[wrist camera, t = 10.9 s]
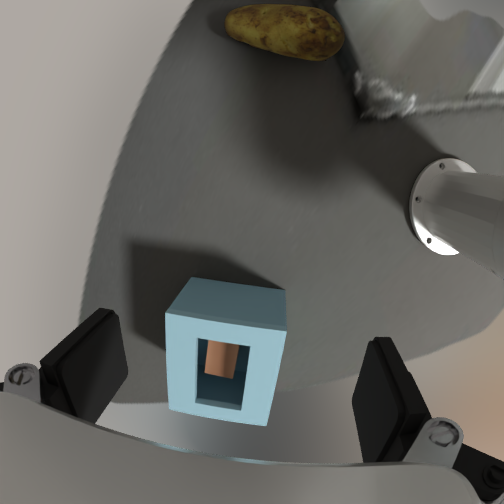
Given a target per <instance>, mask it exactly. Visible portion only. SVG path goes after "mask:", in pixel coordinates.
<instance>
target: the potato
mask: <svg viewBox="0 0 504 504" xmlns="http://www.w3.org/2000/svg"><path fill="white" fill-rule="evenodd" d="M224 26H225V30H226V33H227V34H228V35H229V36H231V37H232V38H234V39H236V40H238V41H240V42H241V41H242V42H246V43H248V44H249V45H250V46H252V47H256V48H260V49H264V50H267V51H271V52H274V53H277V54H281V55H285V56H289V57H296V58H301V59H305V60H313V61H324V60H325V61H326V59H328V58H330V57H331V56H333V55H334V54H336V53H337V52H338V51H339V50H340V48H341V47H342V45H343V43H344V40H345V34H344V30H343V28H342V27H341V25H340V24H339V23H338V21H337V20H336V18H334V17H333V16H332V15H330V14H329V13H327V12H325V11H323V10H321V9H318V8H313V7H305V6H299V5H286V4H254V5H247V6H243V7H240V8H236V9H234V10H232V11H230V12H229V13H228V14H227V16H226V18H225V22H224Z"/></svg>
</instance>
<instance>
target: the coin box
mask: <svg viewBox="0 0 504 504" xmlns="http://www.w3.org/2000/svg"><path fill="white" fill-rule="evenodd" d="M165 330H166V362H167V383H168V399H169V409H170V410H174V411H179V412H184V413H188V414H193V415H198V416H203V417H208V418H213V419H220V420H226V421H232V422H238V423H246V424H253V425H262V426H266V425H267V421H268V417H269V412H270V408H271V404H272V399H273V395H274V390H275V386H276V381H277V377H278V372H279V367H280V362H281V357H282V353H283V348H284V343H285V338H286V333H287V325H286V300H285V290H281V289H273V288H266V287H258V286H251V285H244V284H237V283H230V282H223V281H216V280H209V279H202V278H196V277H191V278H190V280H189V281H188V282H187V284H186V285H185V286H184V288H183V289H182V290H181V292H180V293H179V295H178V296H177V297H176V299H175V300H174V301H173V303H172V304H171V306H170V307H169V308H168V310H167V311H166V312H165ZM209 340H213V341H219V342H225V343H232V344H238V345H240V347H239V352H238V357H237V362H236V366H235V371H234V376H233V379H231V378H226V377H221V376H217V375H212V374H208V373H205V365H206V357H207V349H208V342H209Z"/></svg>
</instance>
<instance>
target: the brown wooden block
mask: <svg viewBox="0 0 504 504" xmlns="http://www.w3.org/2000/svg"><path fill="white" fill-rule="evenodd" d="M239 347H240V345H238V344H232V343H225V342H219V341H213V340H209V342H208V349H207V357H206V365H205V373H208V374H212V375H217V376H221V377H226V378H231V379H233V376H234V371H235V366H236V362H237V357H238V352H239Z"/></svg>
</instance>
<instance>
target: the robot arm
mask: <svg viewBox="0 0 504 504" xmlns="http://www.w3.org/2000/svg"><path fill="white" fill-rule="evenodd" d="M439 165H440V167H439ZM416 197H417V200H415V198H416ZM409 212H410V220H411V223H412V227H413V229H414V232H415V234H416V236H417V237H418V239H419V240H420V241H421V243H423V244H424V245H425V246H426V247H427V248H429V249H430V250H432V251H433V252H436V253H438V254H442V255H454V254H457V253H461V254H462V255H464V256H466V257H467V258H469V259H471V260H473V261H474V262H476V263H477V264H479V265H481V266H482V267H484V268H486V269H487V270H489V271H490V272H492V273H494V274H495V275H497V276H498V277H500V278H501V279H503V280H504V177H503V176H496V175H488V174H480V173H477V172H476V171H475V170H474V169H473V168H472V167H471V166H470V165H469V164H467V163H466V162H464V161H461V160H459V159H454V158H444V159H438V160H436V161H434V162H432V163H430V164H429V165H428V166H426V167H425V168H424V169H423V170H422V172H421V173H420V174H419V176H418V177H417V179H416V181H415V183H414V185H413V188H412V191H411V196H410V204H409ZM427 238H428V239H427ZM426 240H427V241H426ZM40 364H41V368H40V369H39V370H38V368H37V367H36V366H35V365H33V364H28V363H22V364H18V365H15V366H13V367H12V368H10V369H9V370H8V372H7V373H6V375H5V379H4V382H2V383H0V504H504V462H503V461H501V460H498V459H496V458H494V457H492V456H489V455H487V454H485V453H483V452H480V451H478V450H476V449H474V448H472V447H469V446H467V445H465V444H463V443H462V442H463V437H464V435H463V431H462V429H461V428H460V426H459V425H458V424H457V423H456V422H454V421H452V420H450V419H447V418H440V417H437V418H432V417H431V415H430V412H429V410H428V408H427V406H426V404H425V402H424V400H423V397H422V395H421V393H420V391H419V389H418V387H417V385H416V383H415V381H414V379H413V377H412V375H411V373H410V372H408V370H407V368H406V366H405V364H404V362H403V360H402V358H401V356H400V354H399V353H398V351H397V349H396V347H395V345H394V343H393V341H392V339H391V338H390V337H375V338H374V340H373V341H369V343H368V346H367V350H366V353H365V357H364V360H363V364H362V367H361V371H360V374H359V377H358V381H357V384H356V387H355V390H354V393H353V397H352V406H353V411H354V416H355V421H356V425H357V431H358V436H359V442H360V446H361V451H362V457H363V463H346V464H345V463H343V464H321V463H288V462H273V461H261V460H252V459H243V458H235V457H227V456H220V455H214V454H208V453H203V452H197V451H192V450H187V449H182V448H178V447H173V446H169V445H165V444H160V443H156V442H153V441H149V440H145V439H141V438H138V437H134V436H130V435H127V434H124V433H121V432H117V431H114V430H111V429H108V428H105V427H102V426H99V425H96V424H95V423H96V421H97V420H98V418H99V417H100V416H101V414H102V413H103V411H104V410H105V408H106V407H107V405H108V404H109V402H110V401H111V399H112V398H113V397H114V395H115V394H116V392H117V391H118V389H119V388H120V386H121V385H122V384H123V382H124V381H125V379H126V378H127V375H128V366H127V361H126V356H125V351H124V346H123V340H122V334H121V328H120V322H119V317H118V315H117V314H115V312H114V311H113V310H110V309H105V308H99V309H98V310H96V311H95V312H94V313H93V314H92V315H91V316H89V317H88V318H87V319H86V320H85V321H84V322H83V323H81V324H80V325H79V326H78V327H77V328H76V329H75V330H73V331H72V332H71V333H70V334H69V335H68V336H67V337H66V338H64V339H63V340H62V341H61V342H60V343H59V344H58V345H57V346H56V347H55V348H53V349H52V350H51V351H50V352H49V353H48V354H47V355H46V356H45V357H44V358H42V359H41V360H40Z"/></svg>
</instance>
